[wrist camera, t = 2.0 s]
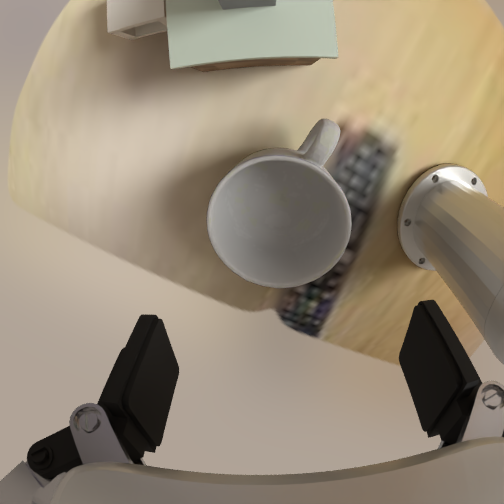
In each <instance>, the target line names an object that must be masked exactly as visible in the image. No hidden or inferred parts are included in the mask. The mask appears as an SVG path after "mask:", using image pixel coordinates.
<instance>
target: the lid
mask: <svg viewBox="0 0 504 504" xmlns="http://www.w3.org/2000/svg"><path fill="white" fill-rule="evenodd" d="M166 16H167V32H168V46H169V58H170V69H180V68H186V67H192V66H198V65H205V64H213V63H221V62H230V61H241V60H253V59H271V58H332V59H336V58H338V47H337V35H336V25H335V16H334V7H333V0H166Z"/></svg>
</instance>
